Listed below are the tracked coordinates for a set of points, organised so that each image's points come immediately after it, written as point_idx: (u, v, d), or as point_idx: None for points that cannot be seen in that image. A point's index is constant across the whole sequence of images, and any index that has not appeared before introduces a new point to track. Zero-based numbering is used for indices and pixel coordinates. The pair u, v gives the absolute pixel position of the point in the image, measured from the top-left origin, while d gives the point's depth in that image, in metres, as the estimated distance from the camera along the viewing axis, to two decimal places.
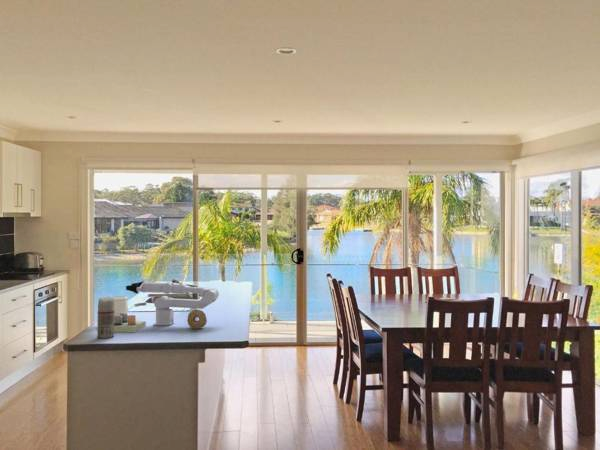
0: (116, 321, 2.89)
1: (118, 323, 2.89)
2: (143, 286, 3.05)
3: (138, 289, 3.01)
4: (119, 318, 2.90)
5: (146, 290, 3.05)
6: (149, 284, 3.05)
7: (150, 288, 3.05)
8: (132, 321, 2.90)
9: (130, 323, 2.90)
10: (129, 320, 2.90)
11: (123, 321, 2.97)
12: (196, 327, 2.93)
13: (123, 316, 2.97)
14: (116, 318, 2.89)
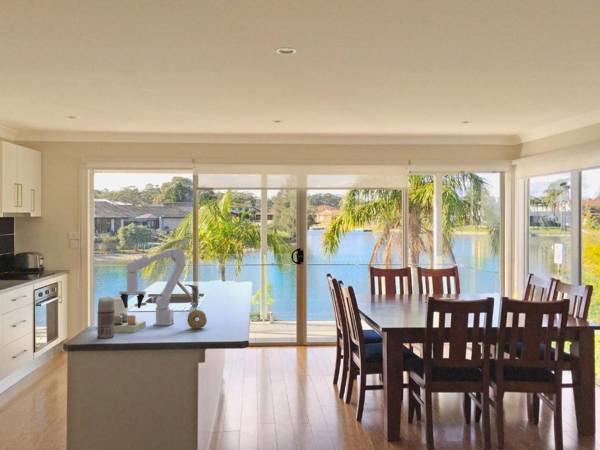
0: (116, 321, 2.89)
1: (118, 323, 2.89)
2: (136, 291, 2.99)
3: (145, 292, 3.00)
4: (119, 318, 2.90)
5: (137, 287, 3.02)
6: (134, 285, 2.98)
7: (137, 283, 3.00)
8: (132, 321, 2.90)
9: (130, 323, 2.90)
10: (129, 320, 2.90)
11: (123, 321, 2.97)
12: (196, 327, 2.93)
13: (123, 316, 2.97)
14: (116, 318, 2.89)
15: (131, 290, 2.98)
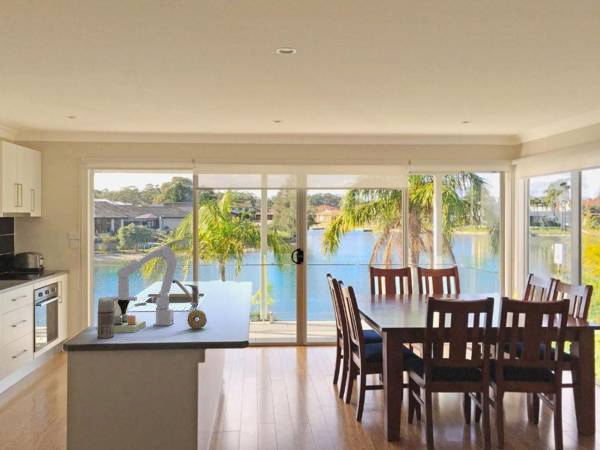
0: (116, 321, 2.89)
1: (118, 323, 2.89)
2: (127, 296, 2.97)
3: (136, 298, 2.98)
4: (119, 318, 2.90)
5: (128, 293, 3.00)
6: (125, 291, 2.96)
7: (128, 289, 2.98)
8: (132, 321, 2.90)
9: (130, 323, 2.90)
10: (129, 320, 2.90)
11: (123, 321, 2.97)
12: (196, 327, 2.93)
13: (123, 316, 2.97)
14: (116, 318, 2.89)
15: (122, 296, 2.96)
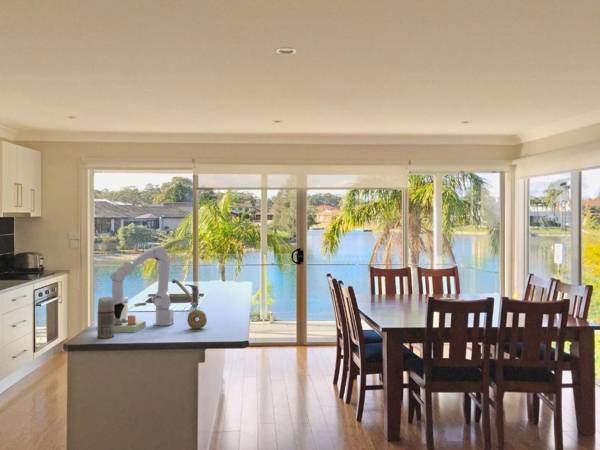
0: (116, 323, 2.89)
1: (118, 325, 2.89)
2: None
3: None
4: (119, 320, 2.90)
5: None
6: None
7: None
8: (132, 321, 2.90)
9: (130, 323, 2.90)
10: (129, 320, 2.90)
11: None
12: (196, 327, 2.93)
13: (123, 321, 2.97)
14: (116, 320, 2.89)
15: (122, 299, 2.91)
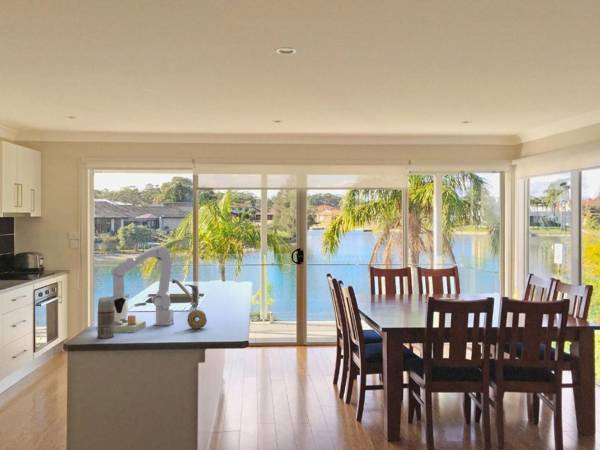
0: None
1: None
2: None
3: None
4: (119, 323, 2.90)
5: None
6: None
7: None
8: (132, 321, 2.90)
9: (130, 323, 2.90)
10: (129, 320, 2.90)
11: None
12: (196, 327, 2.93)
13: (123, 321, 2.97)
14: (116, 323, 2.89)
15: (123, 294, 2.91)
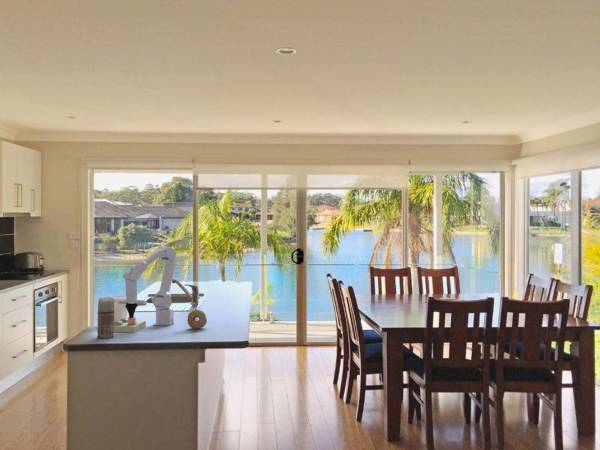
0: None
1: None
2: (135, 300, 2.91)
3: (144, 302, 2.91)
4: (119, 323, 2.90)
5: (136, 296, 2.93)
6: (133, 294, 2.90)
7: (136, 292, 2.92)
8: (132, 323, 2.90)
9: None
10: (129, 322, 2.90)
11: None
12: (196, 327, 2.93)
13: (123, 321, 2.97)
14: (116, 323, 2.89)
15: (130, 299, 2.89)
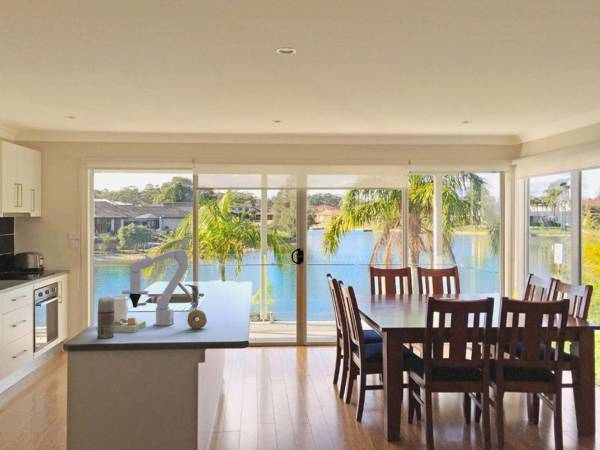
0: None
1: None
2: (139, 290, 3.01)
3: (147, 292, 3.02)
4: (119, 323, 2.90)
5: None
6: (137, 285, 3.00)
7: (140, 283, 3.02)
8: (132, 324, 2.90)
9: None
10: (129, 323, 2.90)
11: None
12: (196, 327, 2.93)
13: (123, 321, 2.97)
14: (116, 323, 2.89)
15: (134, 290, 3.00)
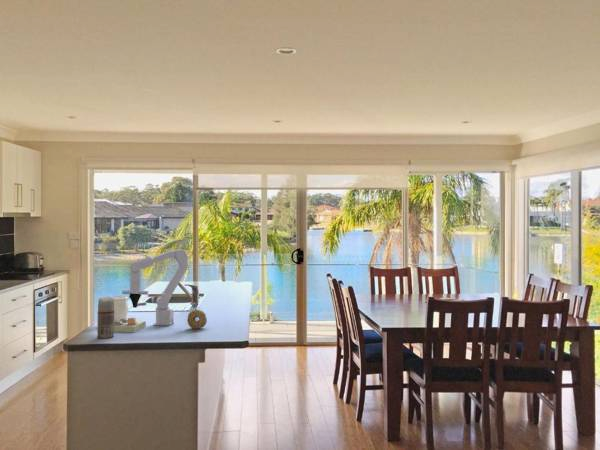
0: None
1: None
2: (139, 290, 3.01)
3: (147, 292, 3.02)
4: (119, 323, 2.90)
5: None
6: (137, 285, 3.00)
7: (140, 283, 3.02)
8: (132, 324, 2.90)
9: None
10: (129, 323, 2.90)
11: None
12: (196, 327, 2.93)
13: (123, 321, 2.97)
14: (116, 323, 2.89)
15: (134, 290, 3.00)
